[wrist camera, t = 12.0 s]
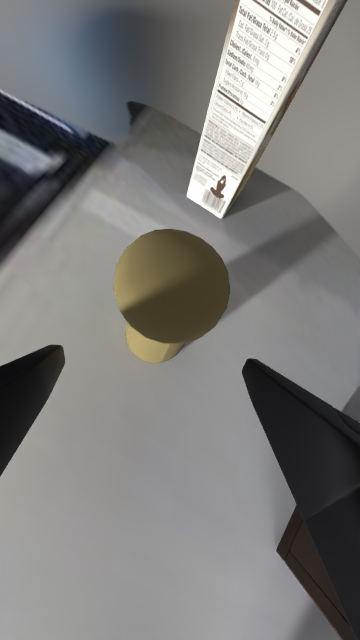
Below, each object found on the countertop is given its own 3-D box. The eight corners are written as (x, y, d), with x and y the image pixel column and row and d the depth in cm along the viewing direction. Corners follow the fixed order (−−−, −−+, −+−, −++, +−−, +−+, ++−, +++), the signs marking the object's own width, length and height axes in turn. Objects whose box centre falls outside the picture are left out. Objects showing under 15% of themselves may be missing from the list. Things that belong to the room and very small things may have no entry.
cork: (133, 299, 17) (119, 184, 6) (188, 311, 18) (253, 228, 7) (118, 357, 15) (61, 327, 4) (181, 367, 16) (256, 362, 5)
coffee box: (210, 168, 26) (301, -101, 11) (243, 190, 26) (375, -46, 11) (184, 197, 23) (265, -133, 8) (222, 221, 23) (370, -54, 8)
